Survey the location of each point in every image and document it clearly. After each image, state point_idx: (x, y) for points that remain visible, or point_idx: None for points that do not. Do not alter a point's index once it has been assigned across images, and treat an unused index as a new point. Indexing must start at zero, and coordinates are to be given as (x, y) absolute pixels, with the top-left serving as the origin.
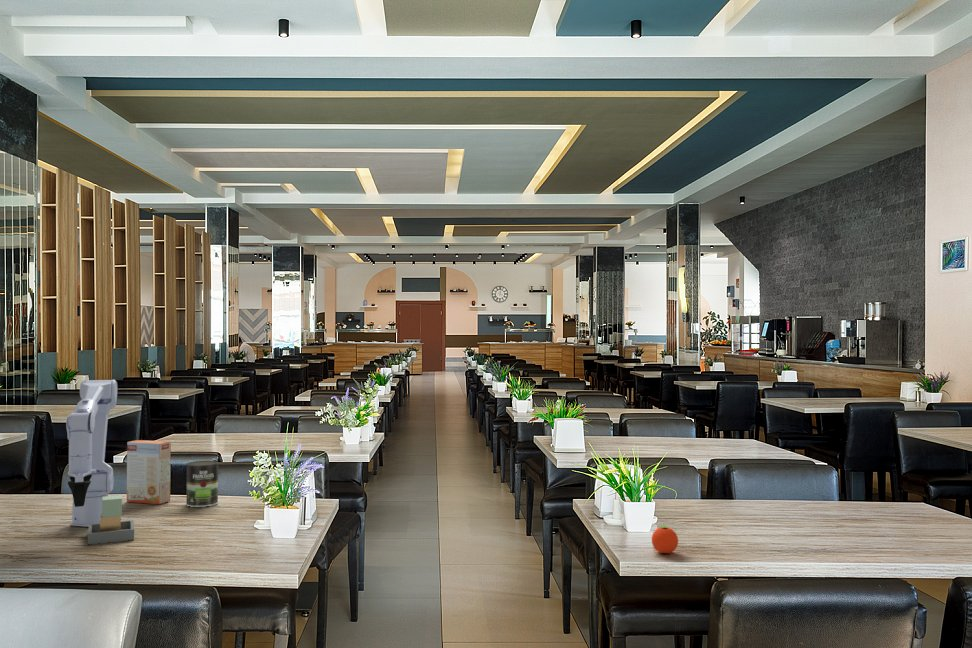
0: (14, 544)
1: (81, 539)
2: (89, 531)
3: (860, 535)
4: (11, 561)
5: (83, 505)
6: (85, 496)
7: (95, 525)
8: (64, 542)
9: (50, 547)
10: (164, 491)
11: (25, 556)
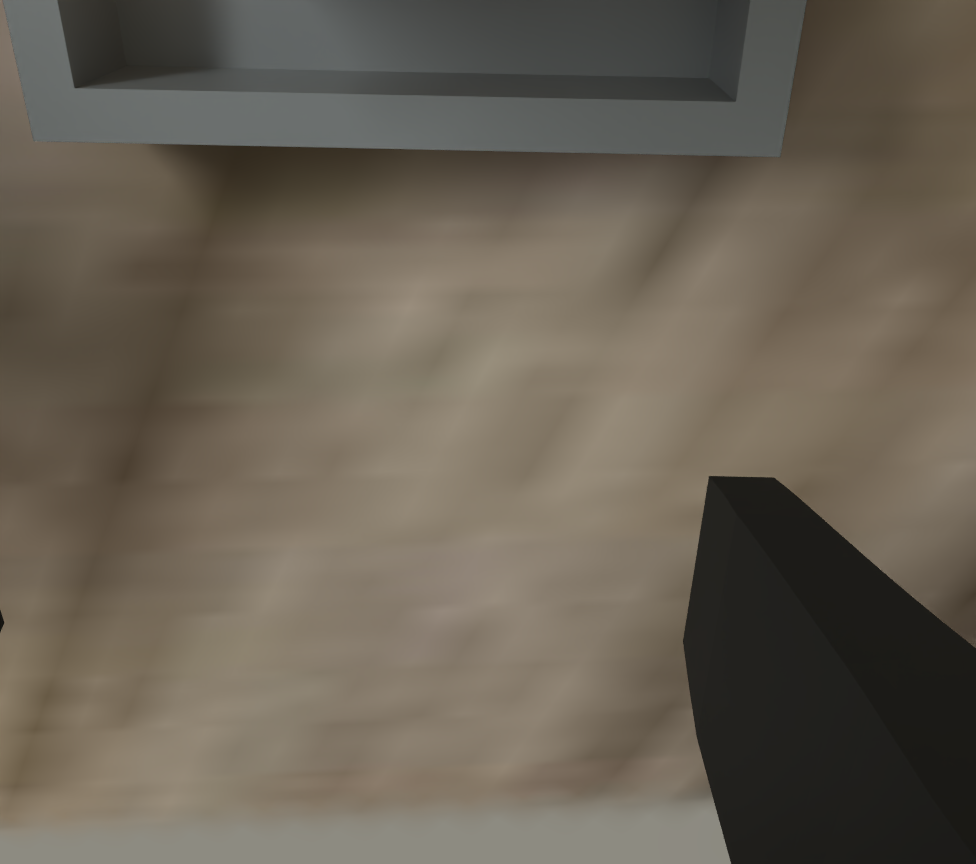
0: (312, 783)
1: (358, 205)
2: (605, 132)
3: None
4: None
5: (779, 487)
6: (968, 643)
7: (74, 24)
8: (435, 397)
9: (607, 522)
10: None
11: None
